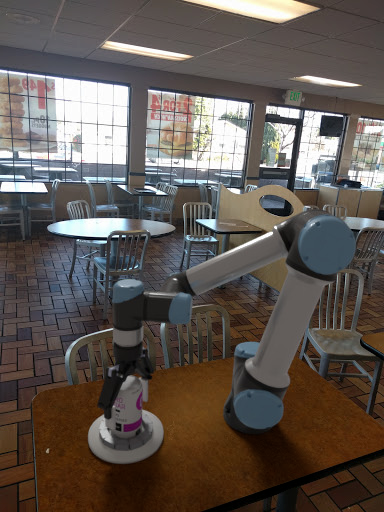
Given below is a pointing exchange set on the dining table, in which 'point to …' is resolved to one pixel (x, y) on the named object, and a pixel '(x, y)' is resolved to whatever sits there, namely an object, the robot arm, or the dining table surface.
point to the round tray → (127, 454)
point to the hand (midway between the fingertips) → (127, 413)
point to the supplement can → (129, 409)
